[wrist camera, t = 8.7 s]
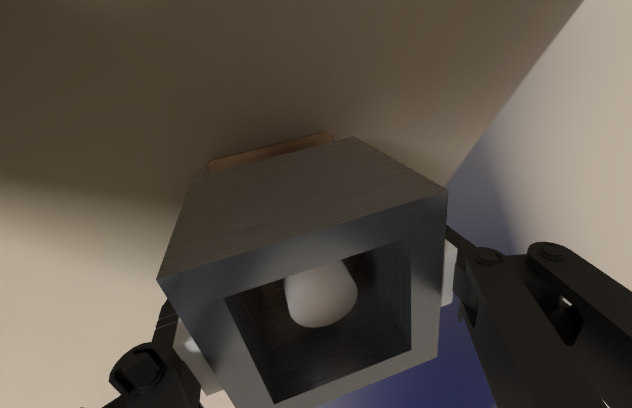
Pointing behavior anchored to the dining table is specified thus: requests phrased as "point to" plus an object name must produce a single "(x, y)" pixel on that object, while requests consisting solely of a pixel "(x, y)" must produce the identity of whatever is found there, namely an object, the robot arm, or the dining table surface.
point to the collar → (304, 254)
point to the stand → (315, 284)
